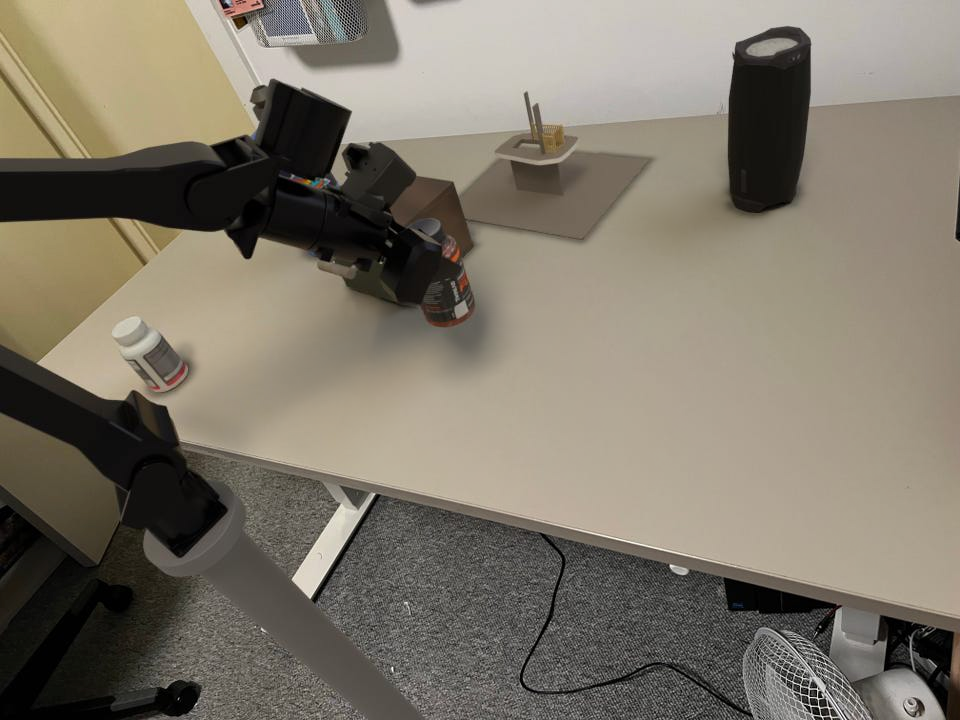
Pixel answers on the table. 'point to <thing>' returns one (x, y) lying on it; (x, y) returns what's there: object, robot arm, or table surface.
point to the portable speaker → (768, 116)
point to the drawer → (358, 276)
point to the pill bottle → (149, 354)
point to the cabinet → (434, 208)
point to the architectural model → (548, 183)
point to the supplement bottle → (446, 282)
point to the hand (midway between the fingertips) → (445, 259)
